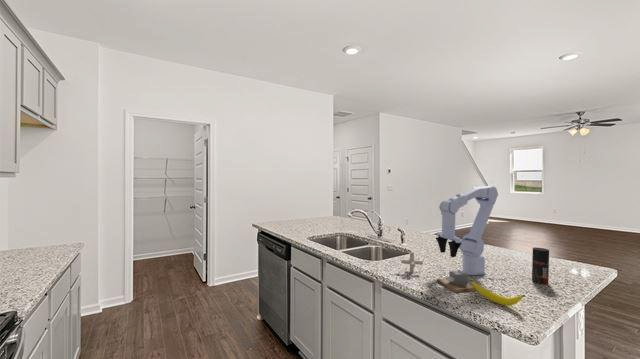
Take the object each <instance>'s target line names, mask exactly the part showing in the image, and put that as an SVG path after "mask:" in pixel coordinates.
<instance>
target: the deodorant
mask: <svg viewBox="0 0 640 359" xmlns="http://www.w3.org/2000/svg"><path fill="white" fill-rule="evenodd" d="M531 259H532V262H531V263H532V264H531V265H532V266H531V267H532V268H531V281H533V282H532V283H535V284H538V285H542V284H543V285H544V286H546V285H547V284H548V285H549V281H550V280H549V278H550V276H549V272H550V268H549V267H550V249H548V248H545V247H536V246H535V247H532V258H531Z"/></svg>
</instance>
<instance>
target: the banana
mask: <svg viewBox="0 0 640 359" xmlns="http://www.w3.org/2000/svg"><path fill="white" fill-rule="evenodd" d="M470 282H471V283H472V285H473V286H474V287H475V289H476V290H477V291H476V292H478V293H479V294H481V295H482V296H483V297H485V298H486V299H488V300H490V301H491V302H493V303H496V304H498V305H502V306H506V307H510V306H514V305H516V304H518V303H519V302H520V301H521V300H522V299H523V298H524V297H525V296H526V295H525V294H523V295H518V296H513V297H507V296H502V295H500V294H496V293H495V292H492V291H490V290H488V289H487V288H484V287H482V286H481V285H479V284H477V283H476V282H474V281H470Z"/></svg>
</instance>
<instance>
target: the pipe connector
mask: <svg viewBox="0 0 640 359" xmlns="http://www.w3.org/2000/svg"><path fill="white" fill-rule="evenodd" d="M400 263H401V264H407V265H409V273H410V274H414V273H415V271H414V270H415V269H414V268H416V265H418V266H423V265H424V261H423V260H415V251H410V252H409V258H408V259H401V260H400Z"/></svg>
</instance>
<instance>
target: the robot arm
mask: <svg viewBox="0 0 640 359" xmlns="http://www.w3.org/2000/svg"><path fill="white" fill-rule="evenodd" d="M498 197H499V193H498V189H497V187H496V186H494V185H491V186H488V185H487V186H486V185H485V186H483V185H475V186H472V188H471V189H470V190H469V191H467V192H465V193H464V194H463V193H456V195H455V196H453V197H449V199H443V200H442V201H441V202H440V203H439V204H440V205H439V206H438V207H439V210H440V215H441V231H437V232H436V236H437V237H435V240H436V242H437V244H438V248H439V251H440V253H441V254H442V253H443V254H444V253H446V249H447V244H448V246H449V256H450V257H451V258H455V257H456V256H457V253H458V251H461V254H462V265H461V266H462V268H457V271H465V272H467V273H468V276H479V275H486V274H487V273H486V272H485V269H486V268H485V267H486V262H485V257H484V256H483V253H484V249H485V248H484V246H485V241H484V240H483V239H482V237H483V234H484V231H485V228H486V227H487V226H486V225H487V223H488V221H489V219H490V216H491V213H492V212H493V208H494V205H496V204H495V203H496V201H497V198H498ZM472 199H475V201H476V202H477V204H479V208H478V211H477V212H476V216H475V218H474V221H473V223H472V226H471V228H470V231H469V233H466V234H465V235H463V237H462V238H460V237H458V236H456V214H457V213H458V212H459V210H460V208H462V207H465V206H467V205H468V202H469V201H470V200H472ZM448 240H449V241H448Z"/></svg>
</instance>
